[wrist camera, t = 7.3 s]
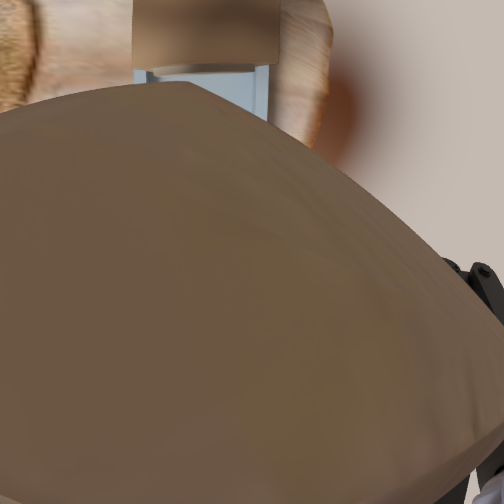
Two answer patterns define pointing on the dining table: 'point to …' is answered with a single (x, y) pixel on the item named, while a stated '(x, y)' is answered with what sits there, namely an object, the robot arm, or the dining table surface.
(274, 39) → the brown block
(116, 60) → the dining table surface
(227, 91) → the blue-grey tray
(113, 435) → the wooden block
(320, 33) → the dining table surface
